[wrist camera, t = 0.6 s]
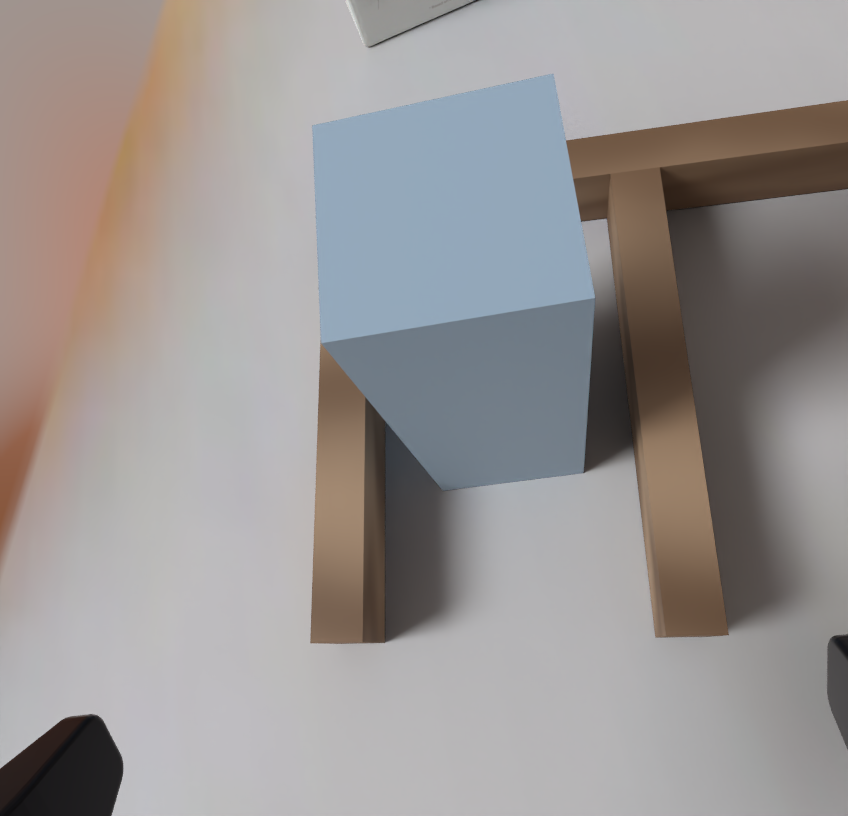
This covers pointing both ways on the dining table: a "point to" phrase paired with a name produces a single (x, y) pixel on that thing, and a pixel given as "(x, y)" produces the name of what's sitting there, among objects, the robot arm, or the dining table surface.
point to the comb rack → (642, 353)
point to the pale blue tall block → (460, 280)
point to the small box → (395, 16)
